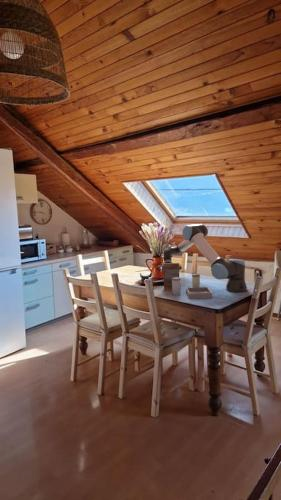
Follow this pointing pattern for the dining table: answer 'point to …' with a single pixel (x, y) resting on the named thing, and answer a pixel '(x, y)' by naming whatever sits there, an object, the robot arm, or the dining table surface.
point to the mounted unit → (170, 274)
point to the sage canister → (195, 280)
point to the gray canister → (176, 286)
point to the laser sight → (145, 277)
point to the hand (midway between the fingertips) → (170, 270)
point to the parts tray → (199, 292)
